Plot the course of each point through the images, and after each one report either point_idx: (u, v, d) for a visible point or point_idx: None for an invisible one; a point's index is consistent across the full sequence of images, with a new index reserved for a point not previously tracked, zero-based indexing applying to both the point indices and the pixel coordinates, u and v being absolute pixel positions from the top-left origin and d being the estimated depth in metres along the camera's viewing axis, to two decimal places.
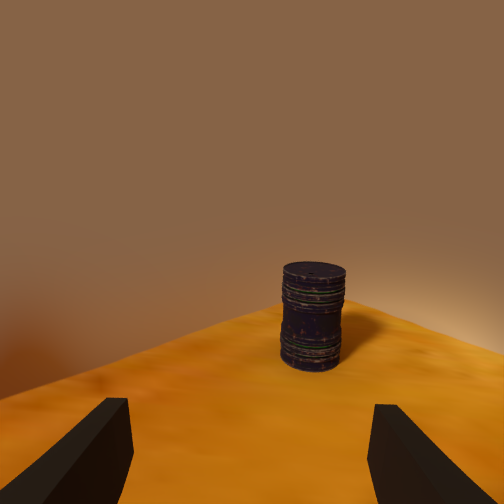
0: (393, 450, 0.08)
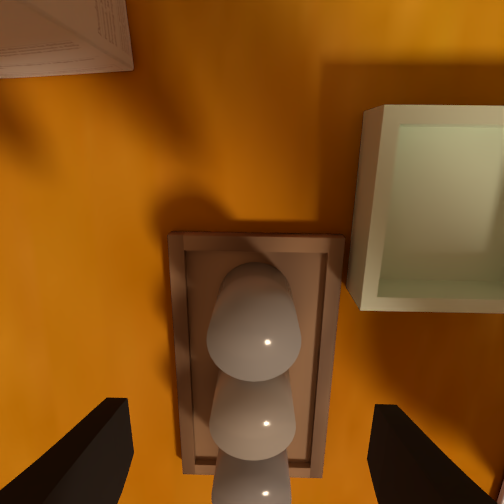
0: (393, 450, 0.08)
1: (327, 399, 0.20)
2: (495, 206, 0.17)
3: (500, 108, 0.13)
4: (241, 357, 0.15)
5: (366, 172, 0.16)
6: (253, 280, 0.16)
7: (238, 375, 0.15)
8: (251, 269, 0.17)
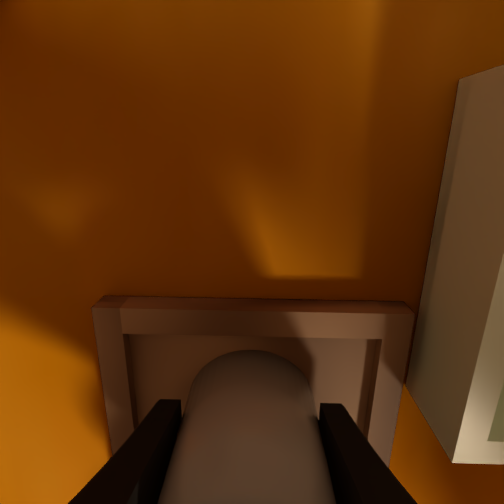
0: (330, 448, 0.08)
1: None
2: None
3: None
4: None
5: (471, 199, 0.08)
6: (246, 414, 0.08)
7: None
8: (243, 373, 0.09)
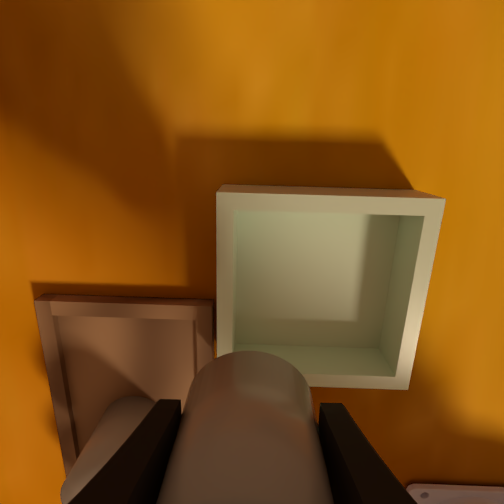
0: (330, 448, 0.08)
1: None
2: (358, 278, 0.17)
3: (331, 197, 0.13)
4: None
5: None
6: (248, 415, 0.08)
7: None
8: (244, 373, 0.09)
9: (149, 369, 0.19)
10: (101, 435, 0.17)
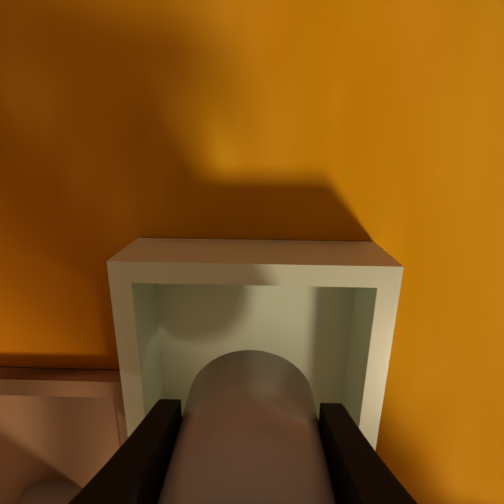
0: (330, 448, 0.08)
1: None
2: (309, 347, 0.14)
3: (255, 266, 0.10)
4: None
5: None
6: (249, 414, 0.08)
7: None
8: (246, 373, 0.09)
9: (67, 450, 0.16)
10: None
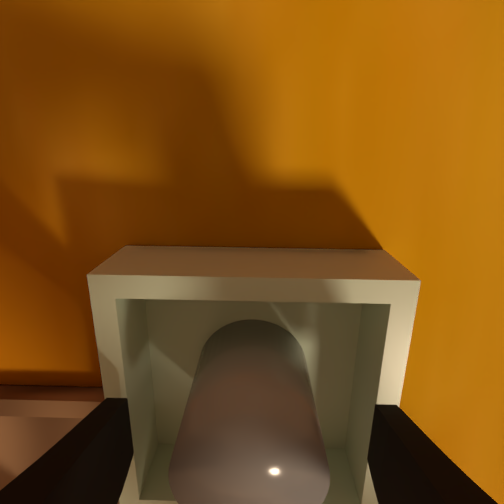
0: (393, 450, 0.08)
1: None
2: (313, 364, 0.13)
3: (254, 280, 0.09)
4: (226, 502, 0.09)
5: None
6: (252, 363, 0.10)
7: None
8: (249, 335, 0.11)
9: None
10: None
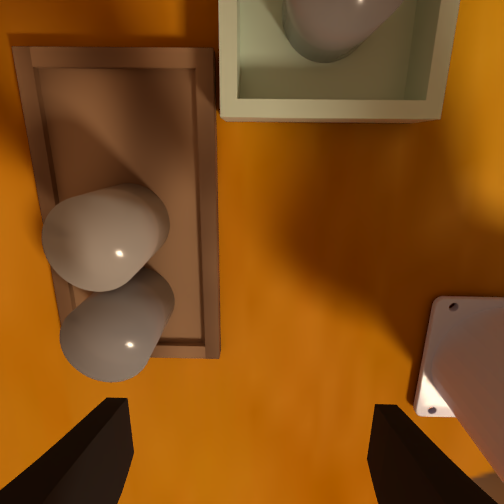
0: (393, 450, 0.08)
1: (214, 258, 0.18)
2: None
3: None
4: None
5: None
6: None
7: (327, 20, 0.11)
8: None
9: (144, 145, 0.17)
10: None
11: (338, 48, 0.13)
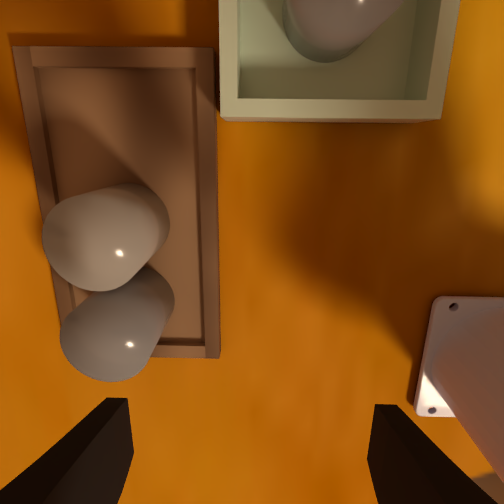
0: (393, 450, 0.08)
1: (214, 258, 0.18)
2: None
3: None
4: None
5: None
6: None
7: (328, 20, 0.11)
8: None
9: (144, 145, 0.17)
10: None
11: (338, 48, 0.13)
